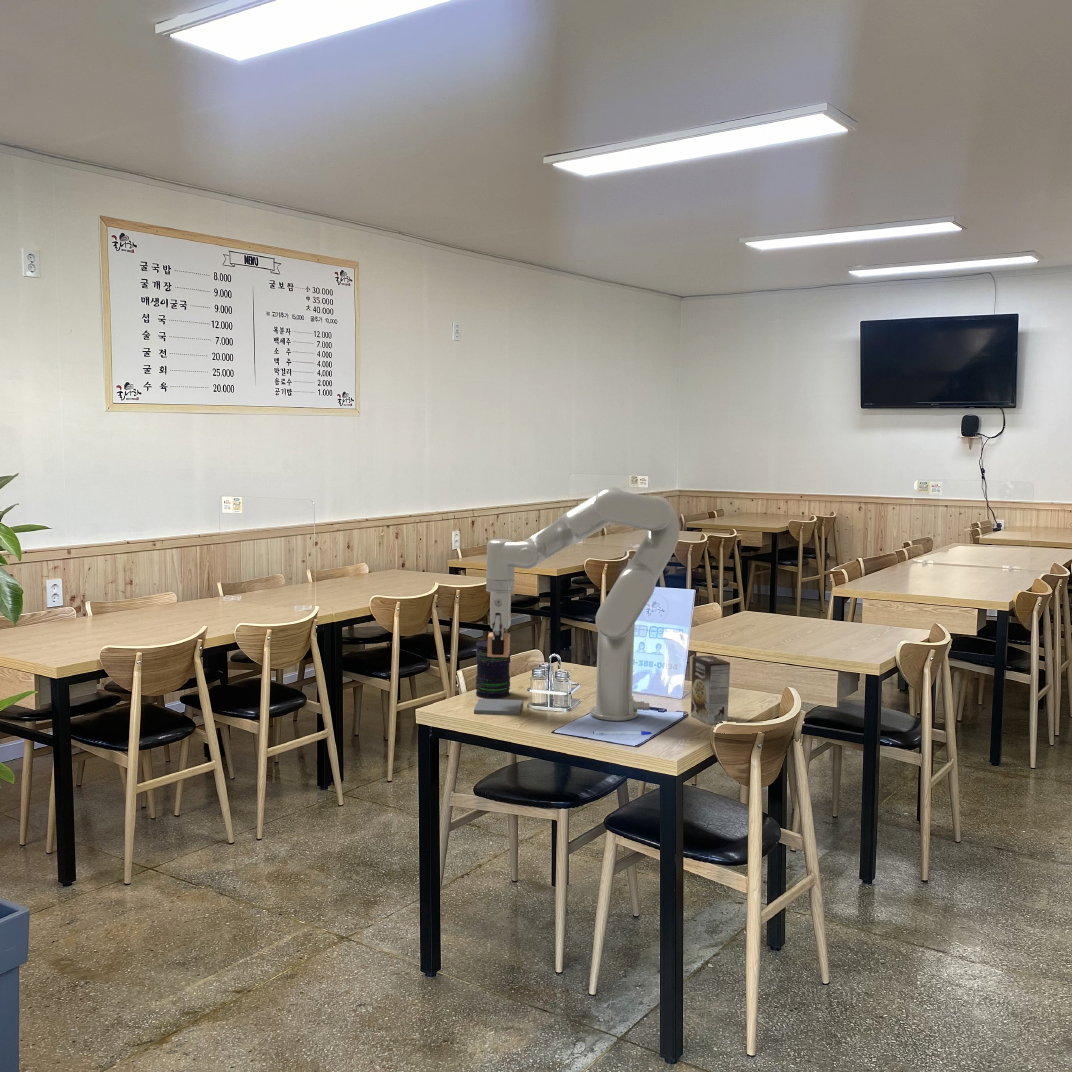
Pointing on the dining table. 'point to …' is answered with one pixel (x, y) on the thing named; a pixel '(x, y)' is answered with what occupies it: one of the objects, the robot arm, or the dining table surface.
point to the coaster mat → (498, 706)
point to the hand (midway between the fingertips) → (498, 651)
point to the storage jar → (491, 674)
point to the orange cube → (506, 645)
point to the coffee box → (710, 689)
